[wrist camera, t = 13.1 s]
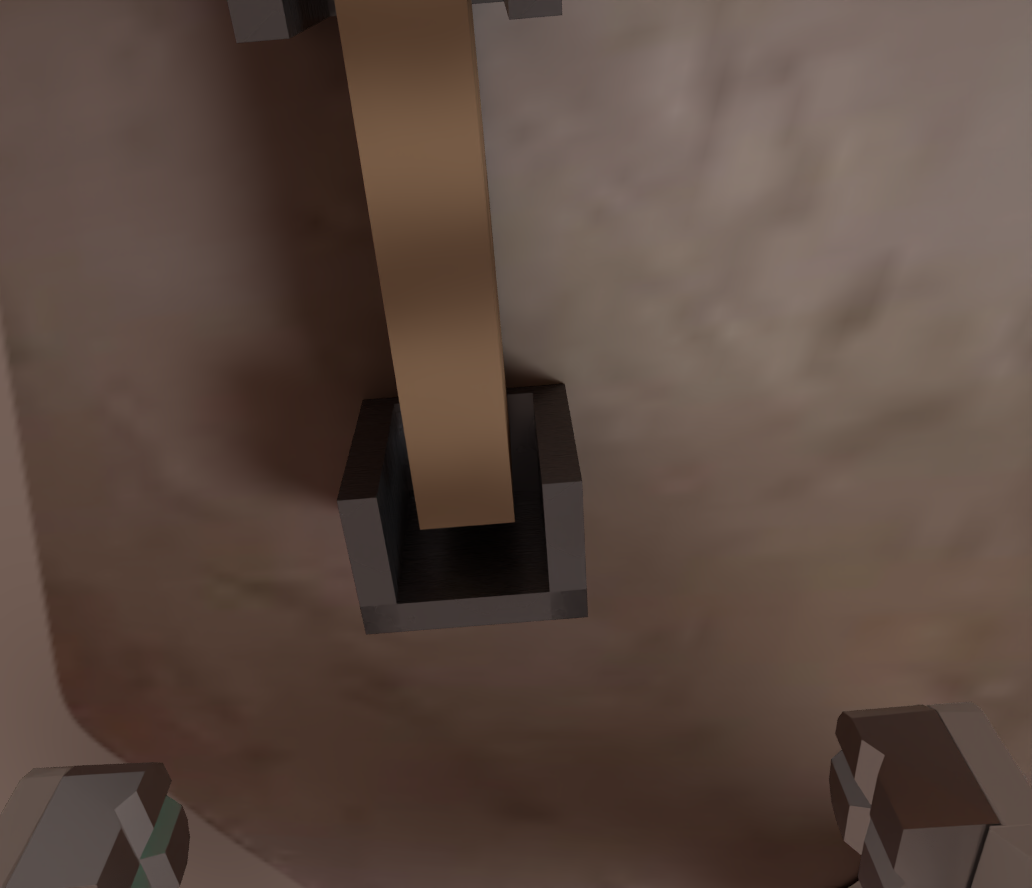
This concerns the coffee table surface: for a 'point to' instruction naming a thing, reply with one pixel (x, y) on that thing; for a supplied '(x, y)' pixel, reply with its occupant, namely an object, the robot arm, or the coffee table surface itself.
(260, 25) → the endcap
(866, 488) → the coffee table surface
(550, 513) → the endcap
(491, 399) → the slat
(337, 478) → the coffee table surface
